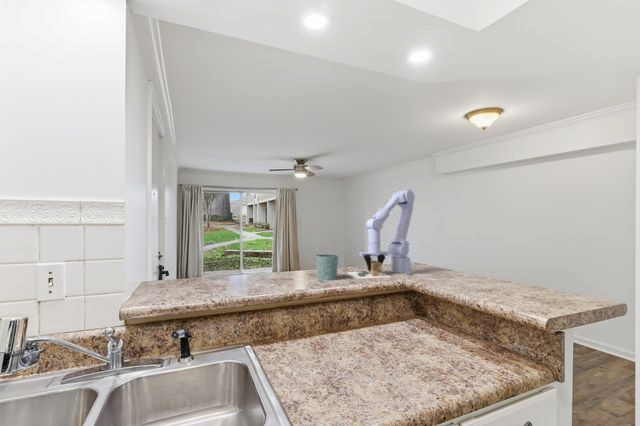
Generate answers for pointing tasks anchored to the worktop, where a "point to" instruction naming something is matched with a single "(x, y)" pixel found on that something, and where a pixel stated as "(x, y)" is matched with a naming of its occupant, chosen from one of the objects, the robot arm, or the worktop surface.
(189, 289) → the worktop surface
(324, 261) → the teal pot
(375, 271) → the sanding block
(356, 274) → the board
